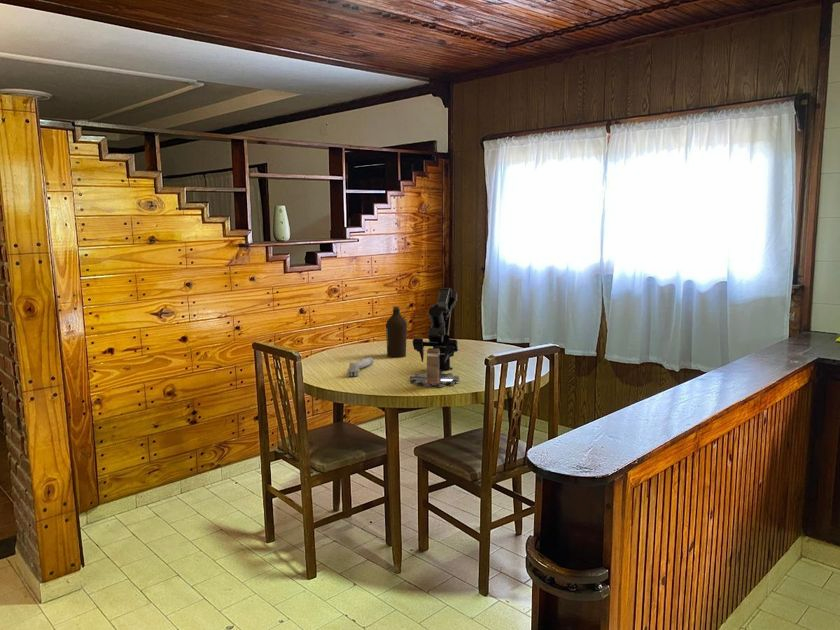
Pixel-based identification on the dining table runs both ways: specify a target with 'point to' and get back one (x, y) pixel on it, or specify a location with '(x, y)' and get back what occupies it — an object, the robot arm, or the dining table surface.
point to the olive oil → (396, 334)
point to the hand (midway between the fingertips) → (433, 361)
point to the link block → (433, 365)
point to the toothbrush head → (359, 366)
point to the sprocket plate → (443, 380)
